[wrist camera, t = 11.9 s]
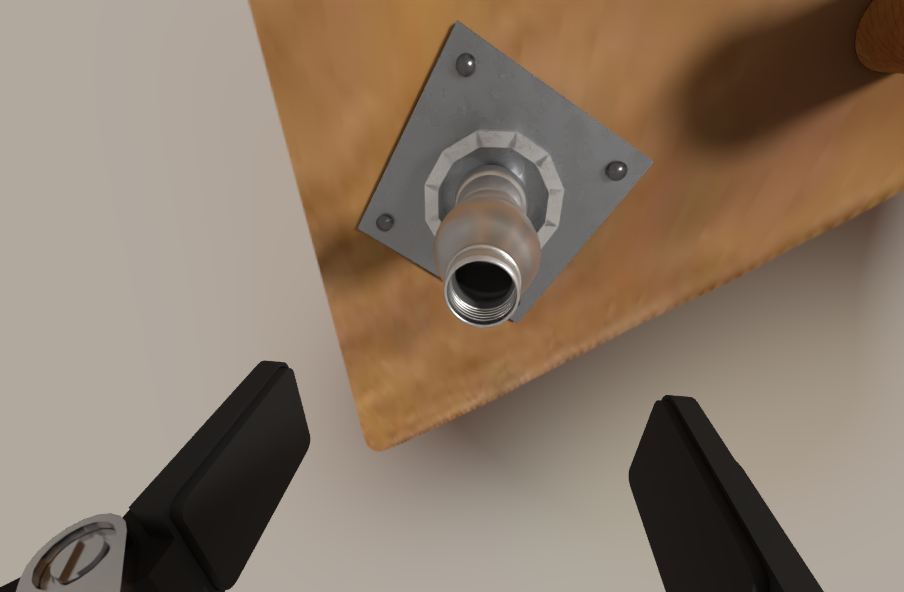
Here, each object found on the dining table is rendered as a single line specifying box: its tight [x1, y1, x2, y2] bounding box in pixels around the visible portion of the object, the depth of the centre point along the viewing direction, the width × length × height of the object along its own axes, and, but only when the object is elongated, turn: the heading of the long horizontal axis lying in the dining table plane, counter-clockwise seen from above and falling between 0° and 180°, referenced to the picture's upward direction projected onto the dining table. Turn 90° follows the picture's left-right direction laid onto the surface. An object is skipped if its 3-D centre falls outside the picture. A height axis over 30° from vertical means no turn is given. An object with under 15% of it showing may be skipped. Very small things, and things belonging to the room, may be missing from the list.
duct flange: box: [358, 20, 654, 323], centre depth 33 cm, size 20×20×4 cm
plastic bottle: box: [433, 165, 541, 328], centre depth 26 cm, size 6×7×20 cm
